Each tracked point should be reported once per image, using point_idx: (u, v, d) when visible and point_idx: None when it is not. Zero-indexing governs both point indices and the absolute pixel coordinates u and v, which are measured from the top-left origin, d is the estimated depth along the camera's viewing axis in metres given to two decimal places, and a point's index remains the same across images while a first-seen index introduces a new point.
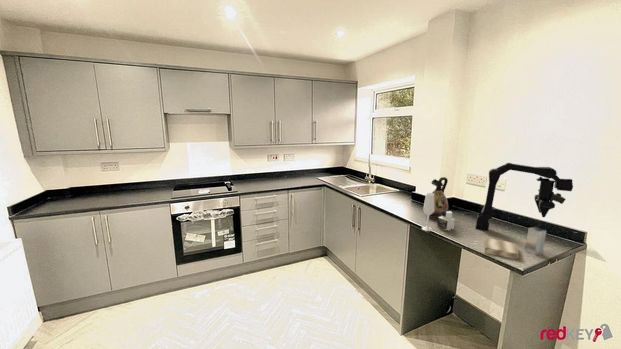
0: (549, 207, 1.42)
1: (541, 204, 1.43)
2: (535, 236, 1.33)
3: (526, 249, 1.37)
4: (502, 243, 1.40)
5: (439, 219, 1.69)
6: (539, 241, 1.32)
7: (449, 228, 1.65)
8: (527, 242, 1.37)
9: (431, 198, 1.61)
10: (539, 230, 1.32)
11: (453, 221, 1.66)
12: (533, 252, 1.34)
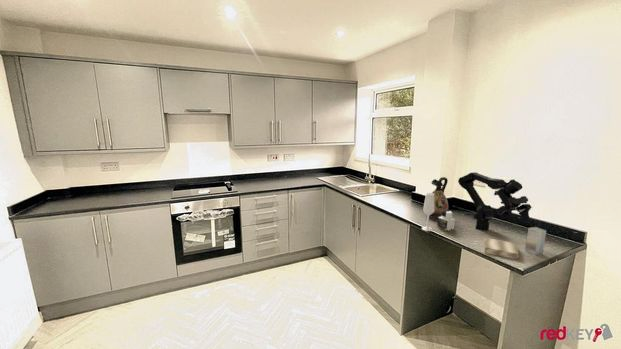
0: (504, 211, 1.43)
1: None
2: (535, 236, 1.33)
3: (526, 249, 1.37)
4: (502, 243, 1.40)
5: (439, 219, 1.69)
6: (539, 241, 1.32)
7: (449, 228, 1.65)
8: (527, 242, 1.37)
9: (431, 198, 1.61)
10: (539, 230, 1.32)
11: (453, 221, 1.66)
12: (533, 252, 1.34)
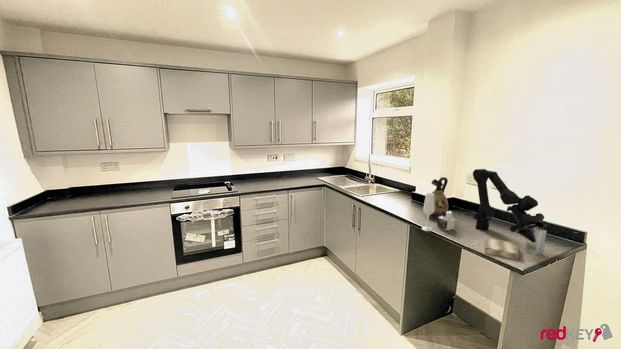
0: (522, 229, 1.35)
1: None
2: (535, 236, 1.33)
3: (526, 249, 1.37)
4: (502, 243, 1.40)
5: (439, 219, 1.69)
6: (539, 241, 1.32)
7: (449, 228, 1.65)
8: (527, 242, 1.37)
9: (431, 198, 1.61)
10: (539, 230, 1.32)
11: (453, 221, 1.66)
12: (533, 252, 1.34)
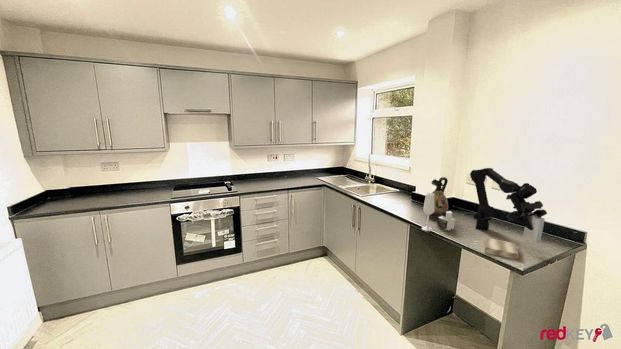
0: (519, 217, 1.34)
1: (508, 217, 1.38)
2: (533, 224, 1.31)
3: (524, 237, 1.36)
4: (502, 243, 1.40)
5: (439, 219, 1.69)
6: (537, 229, 1.31)
7: (449, 228, 1.65)
8: (525, 230, 1.36)
9: (431, 198, 1.61)
10: (537, 218, 1.31)
11: (453, 221, 1.66)
12: (530, 240, 1.33)
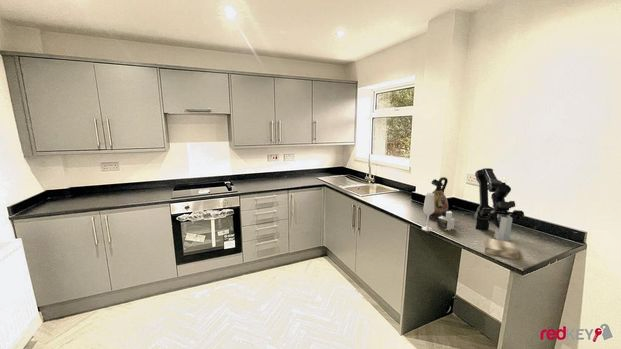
0: (489, 214, 1.39)
1: (480, 214, 1.44)
2: (499, 222, 1.35)
3: (494, 235, 1.40)
4: (502, 243, 1.40)
5: (439, 219, 1.69)
6: (503, 227, 1.34)
7: (449, 228, 1.65)
8: None
9: (431, 198, 1.61)
10: (504, 216, 1.34)
11: (453, 221, 1.66)
12: (497, 237, 1.36)
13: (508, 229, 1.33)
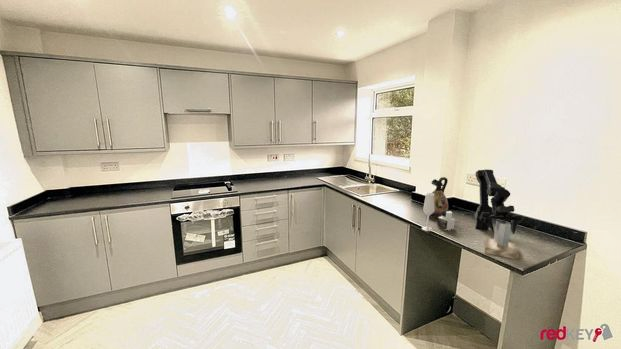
0: (484, 218, 1.40)
1: (479, 218, 1.44)
2: (498, 228, 1.36)
3: (493, 241, 1.40)
4: None
5: (439, 219, 1.69)
6: (502, 234, 1.35)
7: (449, 228, 1.65)
8: (494, 234, 1.40)
9: (431, 198, 1.61)
10: (503, 223, 1.34)
11: (453, 221, 1.66)
12: (496, 244, 1.37)
13: (507, 235, 1.34)
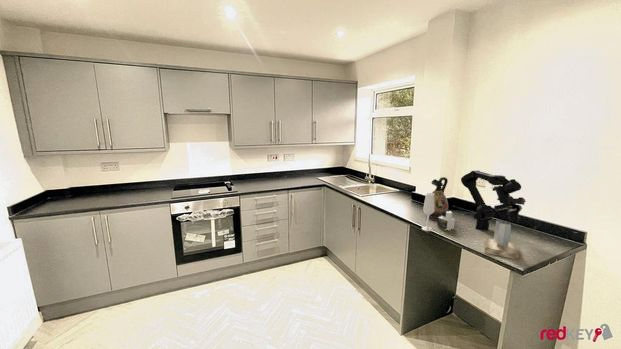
0: (504, 209, 1.43)
1: (495, 208, 1.46)
2: (498, 228, 1.36)
3: (493, 241, 1.40)
4: None
5: (439, 219, 1.69)
6: (502, 234, 1.35)
7: (449, 228, 1.65)
8: (494, 234, 1.40)
9: (431, 198, 1.61)
10: (503, 223, 1.34)
11: (453, 221, 1.66)
12: (496, 244, 1.37)
13: (507, 235, 1.34)
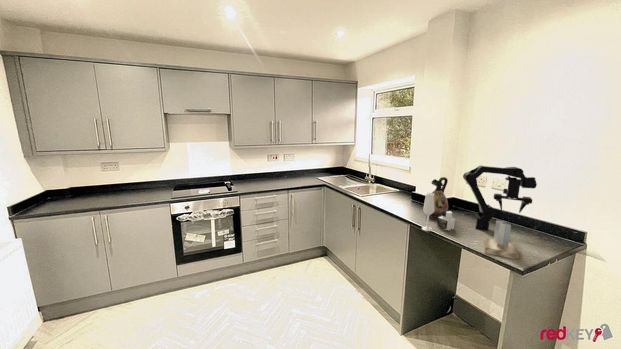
0: None
1: (531, 201, 1.53)
2: (498, 228, 1.36)
3: (493, 241, 1.40)
4: None
5: (439, 219, 1.69)
6: (502, 234, 1.35)
7: (449, 228, 1.65)
8: (494, 234, 1.40)
9: (431, 198, 1.61)
10: (503, 223, 1.34)
11: (453, 221, 1.66)
12: (496, 244, 1.37)
13: (507, 235, 1.34)
